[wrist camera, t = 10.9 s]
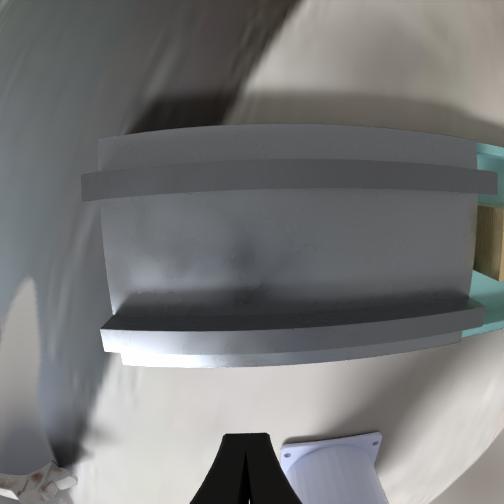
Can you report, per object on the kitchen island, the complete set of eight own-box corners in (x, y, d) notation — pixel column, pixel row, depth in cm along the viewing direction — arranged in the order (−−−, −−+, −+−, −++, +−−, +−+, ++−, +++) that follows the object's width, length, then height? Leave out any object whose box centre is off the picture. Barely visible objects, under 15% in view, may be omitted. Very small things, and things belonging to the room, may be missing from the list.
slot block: (438, 323, 19) (475, 354, 15) (138, 341, 19) (112, 381, 15) (448, 144, 17) (495, 137, 12) (119, 145, 17) (80, 134, 12)
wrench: (-17, 457, 27) (84, 457, 21) (-9, 466, 28) (97, 470, 22) (-42, 487, 20) (45, 519, 13) (-33, 496, 20) (62, 532, 14)
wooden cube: (500, 259, 18) (537, 273, 14) (461, 264, 18) (498, 281, 14) (503, 203, 17) (542, 209, 13) (463, 203, 17) (503, 209, 13)
